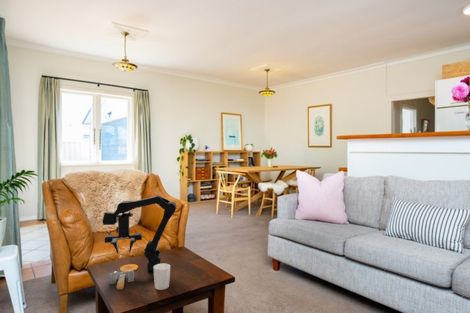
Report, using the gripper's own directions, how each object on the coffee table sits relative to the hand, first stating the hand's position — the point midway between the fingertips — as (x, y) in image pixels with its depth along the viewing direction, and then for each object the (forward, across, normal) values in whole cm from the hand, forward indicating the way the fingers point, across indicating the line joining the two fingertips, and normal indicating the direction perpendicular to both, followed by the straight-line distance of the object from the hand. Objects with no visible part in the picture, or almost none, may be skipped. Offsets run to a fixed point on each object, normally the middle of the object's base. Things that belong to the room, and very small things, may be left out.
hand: (123, 253), depth 164 cm
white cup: (+10, -19, +24) cm, 32 cm away
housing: (+10, 0, +11) cm, 15 cm away
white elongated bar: (+10, 0, +14) cm, 17 cm away
